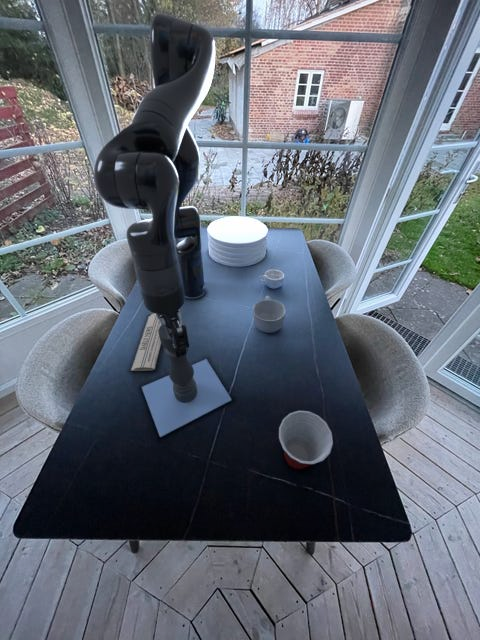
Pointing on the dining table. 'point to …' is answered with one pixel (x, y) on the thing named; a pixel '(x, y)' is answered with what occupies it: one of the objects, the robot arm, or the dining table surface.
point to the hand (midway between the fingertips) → (174, 342)
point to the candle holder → (179, 370)
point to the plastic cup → (304, 439)
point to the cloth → (178, 414)
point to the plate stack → (237, 241)
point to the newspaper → (148, 346)
